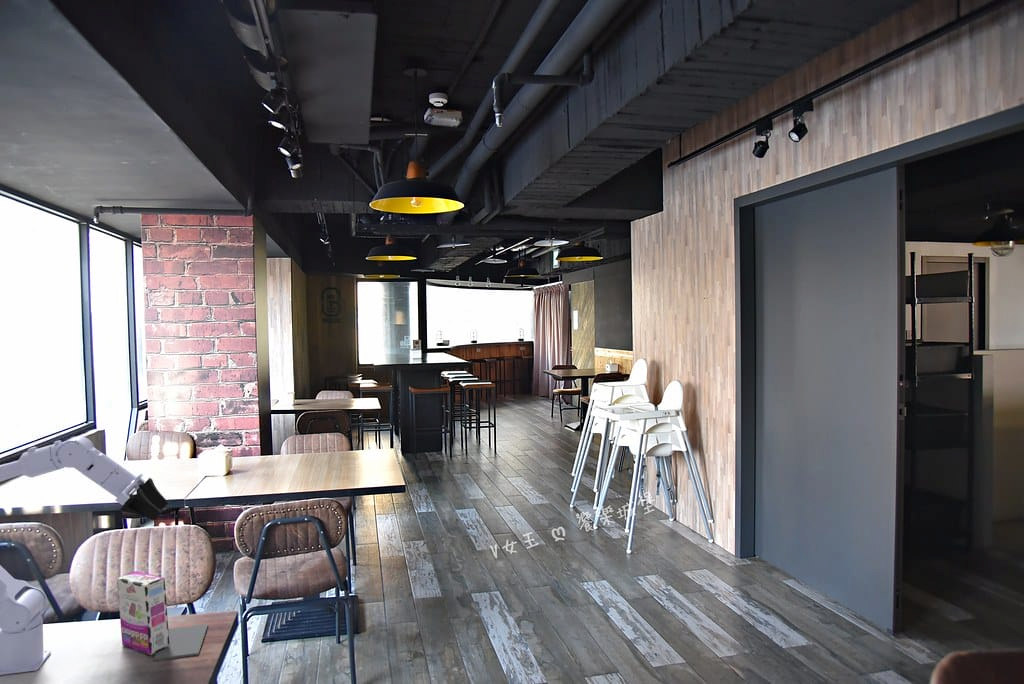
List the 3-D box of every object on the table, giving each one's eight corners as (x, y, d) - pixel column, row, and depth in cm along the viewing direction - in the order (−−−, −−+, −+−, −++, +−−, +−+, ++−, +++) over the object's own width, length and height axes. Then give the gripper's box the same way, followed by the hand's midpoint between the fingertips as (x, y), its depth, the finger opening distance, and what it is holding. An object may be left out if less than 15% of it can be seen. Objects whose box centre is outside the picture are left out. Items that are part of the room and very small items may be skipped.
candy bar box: (171, 645, 151) (166, 577, 150) (151, 656, 147) (145, 585, 146) (141, 635, 157) (136, 569, 156) (121, 645, 152) (115, 577, 151)
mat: (153, 660, 146) (153, 658, 146) (166, 631, 159) (166, 629, 159) (198, 655, 149) (198, 652, 149) (207, 626, 162) (207, 624, 162)
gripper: (114, 469, 141) (167, 507, 144) (132, 455, 155) (180, 489, 158) (90, 495, 140) (144, 532, 143) (110, 478, 154) (159, 512, 157)
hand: (161, 511), depth 151 cm, fingers open, 7 cm apart
